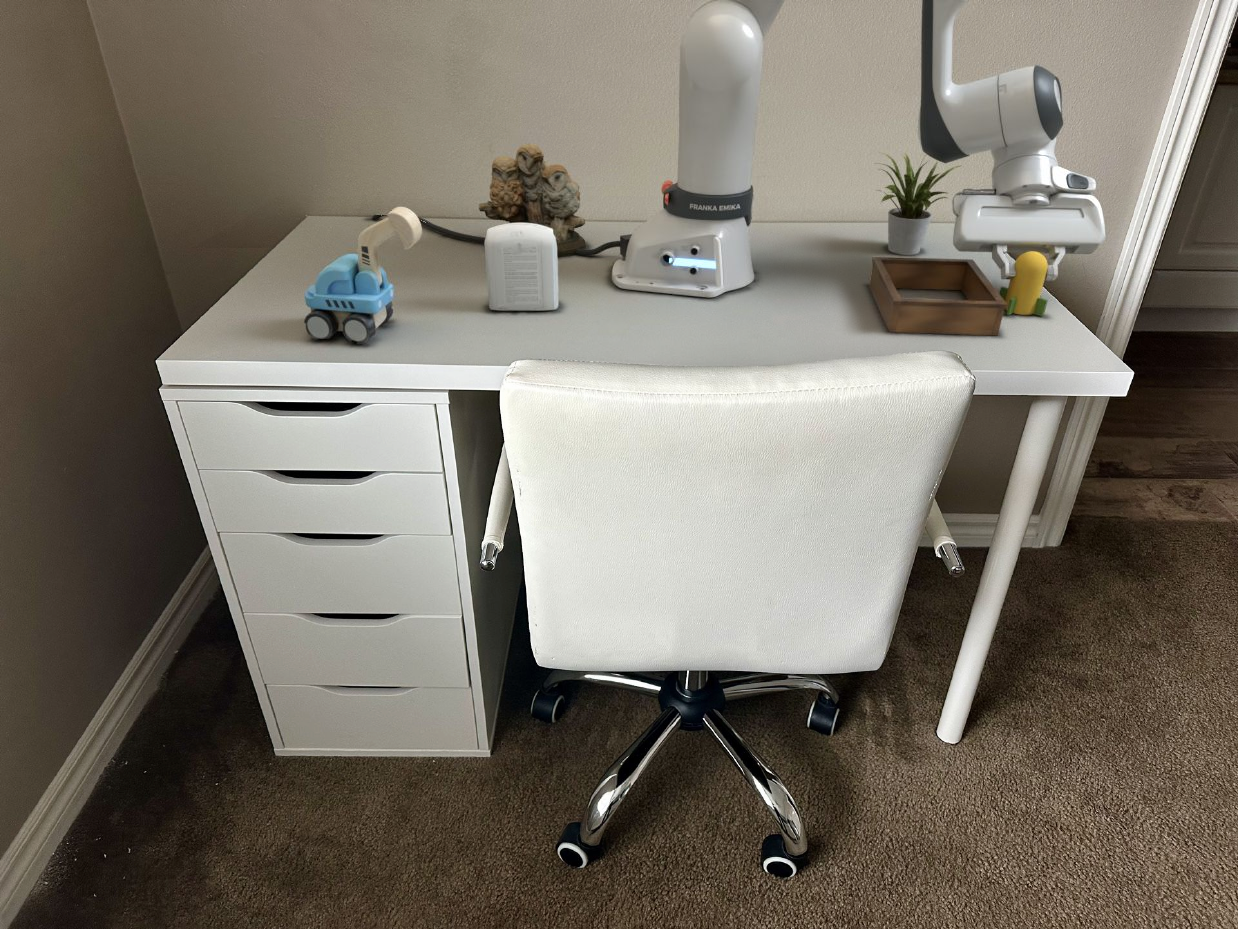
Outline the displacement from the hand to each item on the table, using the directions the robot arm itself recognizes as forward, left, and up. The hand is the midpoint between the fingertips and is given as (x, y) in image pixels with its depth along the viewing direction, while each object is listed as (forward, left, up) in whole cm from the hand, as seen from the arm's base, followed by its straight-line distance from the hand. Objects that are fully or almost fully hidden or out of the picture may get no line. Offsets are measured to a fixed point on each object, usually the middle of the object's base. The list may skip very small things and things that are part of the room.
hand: (1029, 278), depth 124 cm
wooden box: (-13, 0, -5) cm, 14 cm away
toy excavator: (-91, -15, -5) cm, 93 cm away
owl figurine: (-75, +23, -5) cm, 79 cm away
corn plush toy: (0, +1, -5) cm, 5 cm away
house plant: (-13, +27, -5) cm, 30 cm away
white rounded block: (-72, -4, -5) cm, 72 cm away
